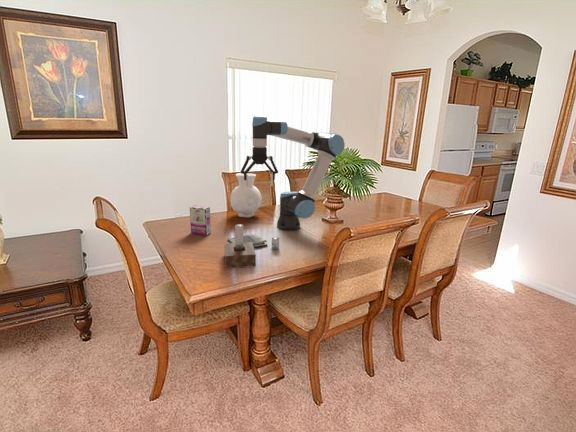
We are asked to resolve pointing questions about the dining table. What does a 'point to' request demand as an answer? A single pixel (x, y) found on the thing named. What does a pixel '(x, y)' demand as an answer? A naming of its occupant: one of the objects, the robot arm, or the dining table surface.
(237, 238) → the long pin
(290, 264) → the dining table surface
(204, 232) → the candy bar box
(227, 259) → the hole block
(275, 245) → the short pin
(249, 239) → the dish towel
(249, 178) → the vase
